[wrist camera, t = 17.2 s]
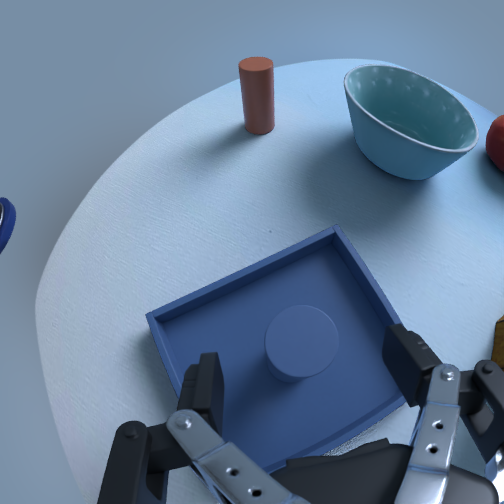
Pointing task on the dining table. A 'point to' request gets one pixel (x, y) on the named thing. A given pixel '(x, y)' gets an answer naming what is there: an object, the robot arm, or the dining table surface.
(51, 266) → the dining table surface
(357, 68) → the bowl
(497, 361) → the wooden banded barrel
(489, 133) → the red round fruit
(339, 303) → the blue tray
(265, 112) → the terracotta peg
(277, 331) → the blue peg
